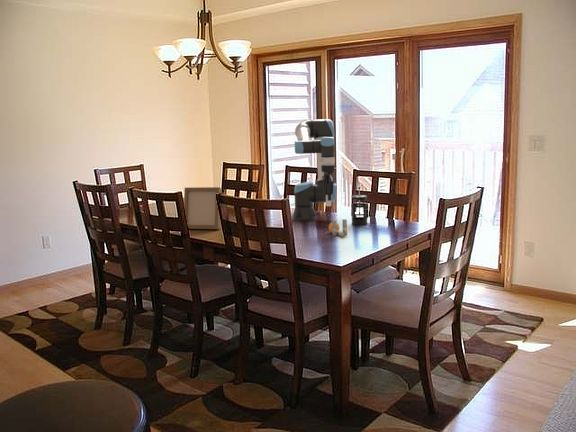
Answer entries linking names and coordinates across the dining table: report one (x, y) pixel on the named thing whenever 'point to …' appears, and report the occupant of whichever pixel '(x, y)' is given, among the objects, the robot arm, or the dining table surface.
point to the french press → (356, 205)
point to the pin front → (340, 234)
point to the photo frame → (202, 207)
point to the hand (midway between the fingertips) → (328, 205)
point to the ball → (331, 227)
